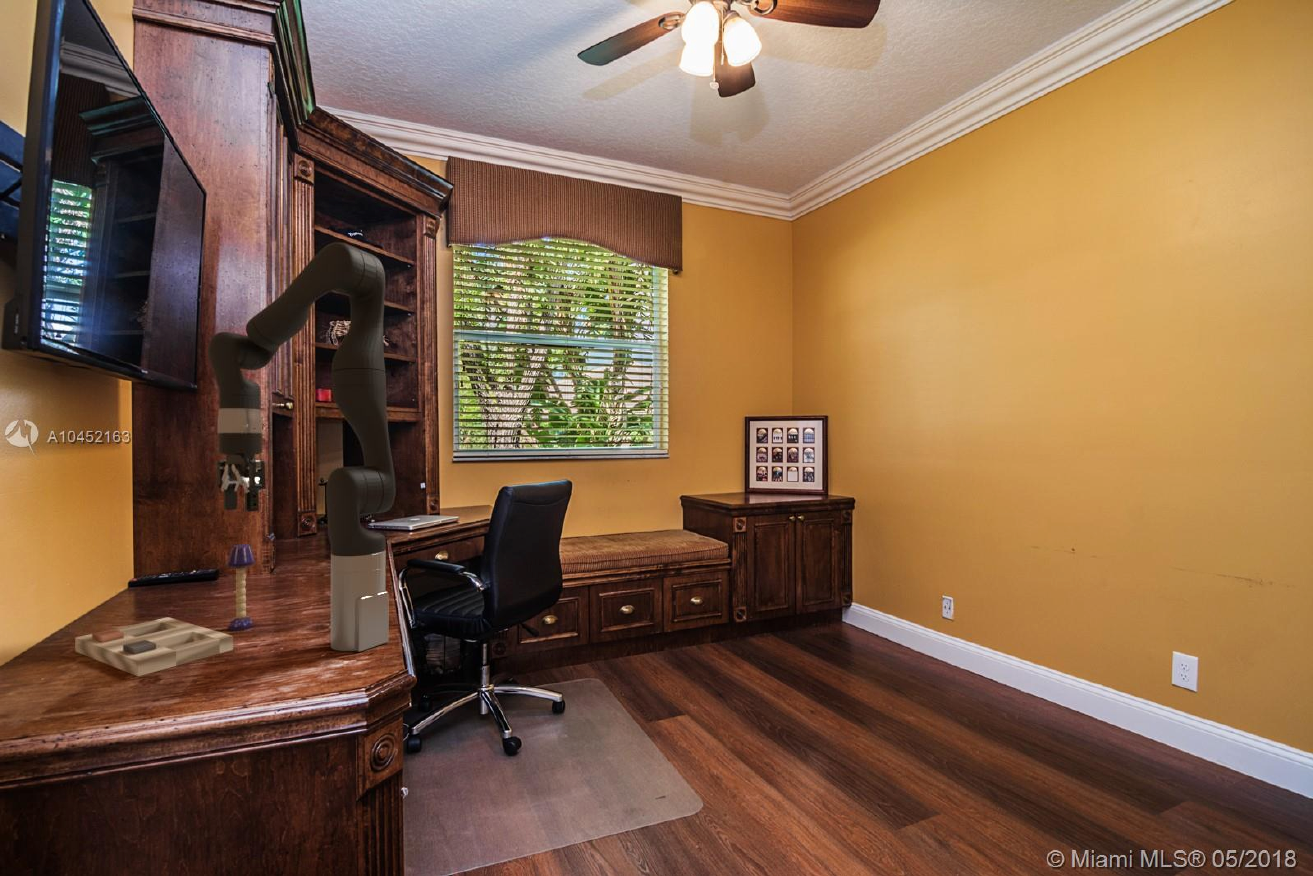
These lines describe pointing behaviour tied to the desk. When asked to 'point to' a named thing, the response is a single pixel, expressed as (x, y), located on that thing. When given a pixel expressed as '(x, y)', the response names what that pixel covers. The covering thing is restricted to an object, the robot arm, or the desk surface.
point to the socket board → (153, 645)
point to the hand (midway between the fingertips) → (240, 510)
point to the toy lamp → (240, 584)
